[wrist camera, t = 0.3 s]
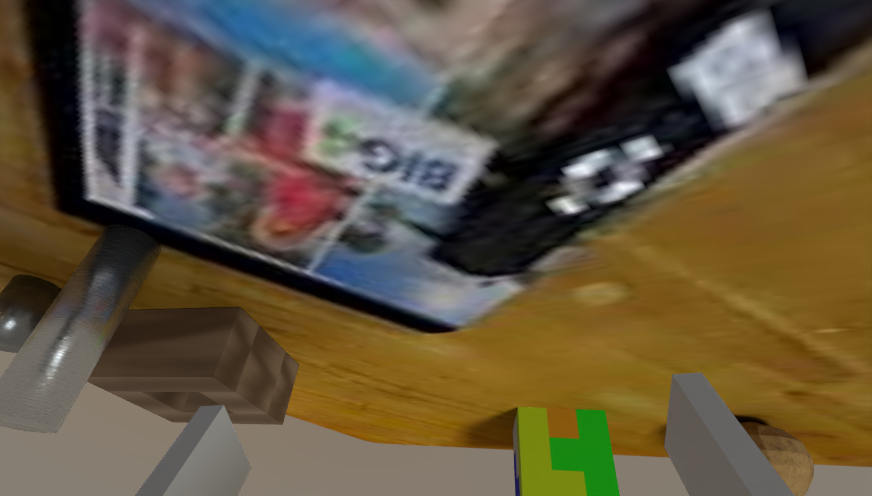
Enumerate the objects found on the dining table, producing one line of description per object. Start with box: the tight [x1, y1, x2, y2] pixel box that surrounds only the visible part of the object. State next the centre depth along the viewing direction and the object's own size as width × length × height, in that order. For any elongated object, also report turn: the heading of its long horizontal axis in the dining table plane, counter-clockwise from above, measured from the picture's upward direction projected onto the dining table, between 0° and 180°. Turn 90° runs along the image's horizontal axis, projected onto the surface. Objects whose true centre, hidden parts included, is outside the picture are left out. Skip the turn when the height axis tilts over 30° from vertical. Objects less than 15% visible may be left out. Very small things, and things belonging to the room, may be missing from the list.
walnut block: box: [87, 307, 299, 425], centre depth 40 cm, size 12×12×6 cm
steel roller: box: [0, 225, 161, 433], centre depth 26 cm, size 4×4×12 cm
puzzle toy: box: [513, 407, 620, 496], centre depth 52 cm, size 10×10×10 cm
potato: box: [740, 422, 814, 496], centre depth 49 cm, size 10×14×8 cm
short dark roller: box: [0, 275, 61, 353], centre depth 34 cm, size 4×4×5 cm
